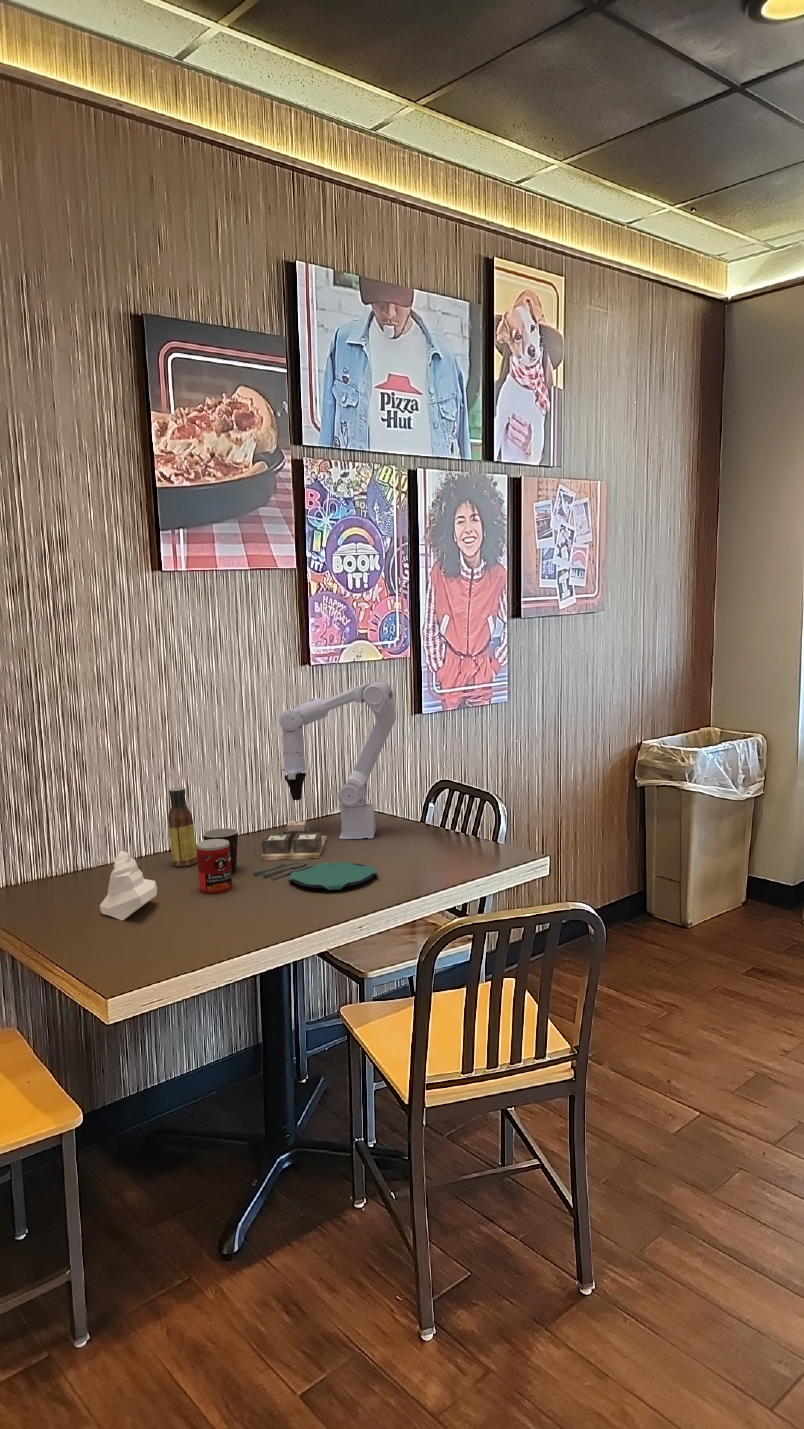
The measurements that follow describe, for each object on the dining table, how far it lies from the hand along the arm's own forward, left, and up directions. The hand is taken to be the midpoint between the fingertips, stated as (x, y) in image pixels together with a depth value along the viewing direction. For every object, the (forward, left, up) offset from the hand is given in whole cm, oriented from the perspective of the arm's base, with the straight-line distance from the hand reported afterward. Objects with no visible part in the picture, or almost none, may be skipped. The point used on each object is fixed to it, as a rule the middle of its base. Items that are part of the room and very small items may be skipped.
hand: (296, 799), depth 269 cm
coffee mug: (+14, +34, -11) cm, 38 cm away
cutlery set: (-10, +39, -11) cm, 42 cm away
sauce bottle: (+26, +25, -11) cm, 38 cm away
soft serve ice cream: (+29, +60, -11) cm, 67 cm away
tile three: (-1, +9, -7) cm, 12 cm away
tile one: (-5, +18, -9) cm, 21 cm away
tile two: (+3, +18, -9) cm, 20 cm away
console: (-1, +14, -10) cm, 17 cm away
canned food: (+13, +46, -11) cm, 49 cm away
